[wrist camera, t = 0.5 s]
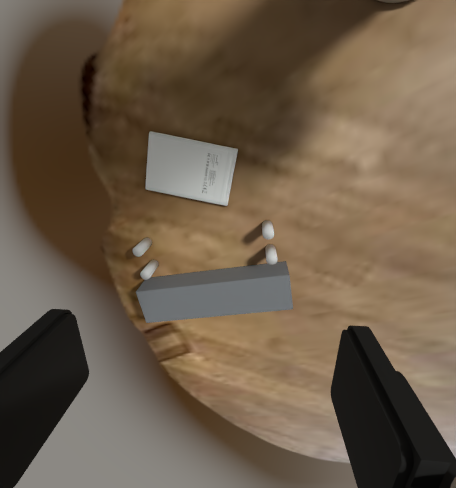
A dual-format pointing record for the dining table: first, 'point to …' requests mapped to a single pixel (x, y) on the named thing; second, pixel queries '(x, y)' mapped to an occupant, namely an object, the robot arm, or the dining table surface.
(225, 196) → the external hard drive
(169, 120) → the dining table surface
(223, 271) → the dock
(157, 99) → the dining table surface
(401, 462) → the robot arm
